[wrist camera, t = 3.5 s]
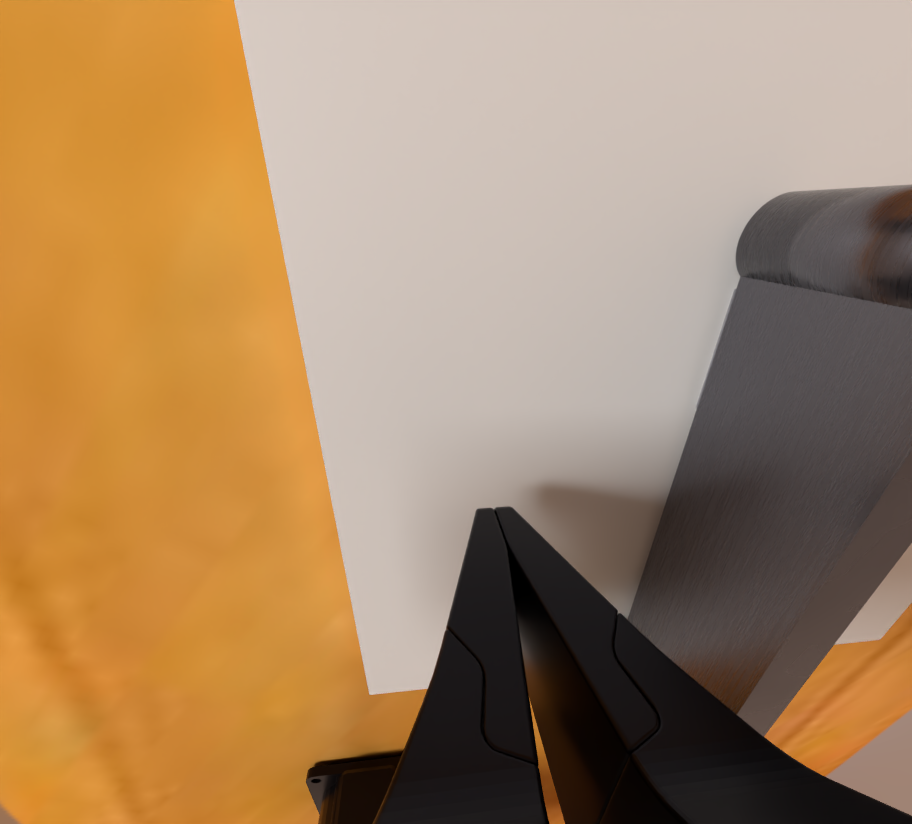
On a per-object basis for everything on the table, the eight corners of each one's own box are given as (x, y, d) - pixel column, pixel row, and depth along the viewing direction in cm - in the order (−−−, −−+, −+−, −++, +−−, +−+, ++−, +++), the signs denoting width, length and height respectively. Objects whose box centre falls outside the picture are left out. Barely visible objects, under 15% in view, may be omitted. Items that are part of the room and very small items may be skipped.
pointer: (662, 668, 15) (737, 806, 12) (584, 677, 15) (637, 821, 11) (871, 191, 8) (1274, 172, 4) (720, 190, 7) (1011, 169, 4)
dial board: (845, 608, 18) (882, 641, 17) (373, 655, 16) (369, 697, 15) (1261, 41, 9) (1424, 8, 7) (259, -7, 7) (219, -65, 5)
